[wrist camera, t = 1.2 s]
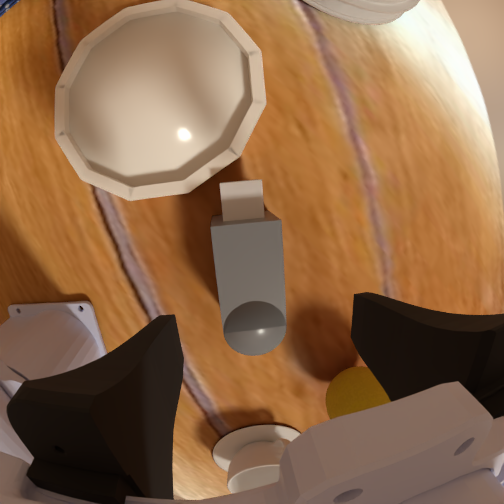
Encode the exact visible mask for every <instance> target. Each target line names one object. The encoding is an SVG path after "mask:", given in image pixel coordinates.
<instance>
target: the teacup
mask: <svg viewBox="0 0 504 504" xmlns="http://www.w3.org/2000/svg"><path fill="white" fill-rule="evenodd" d="M299 435H301V434H300V433H299V432H298V431H296V430H294V429H292V428H289V427H285V426H280V425H258V426H251V427H247V428H243V429H240V430H237V431H234V432H232V433H230V434H228V435H226V436H225V437H223V438H222V439H221V440H220V441H219V442H218V443H217V444H216V445H215V447H214V449H213V459H214V461H215V463H216V464H217V465H218V466H219V467H220V468H222V469H223V470H225V471H227V472H228V478H227V487H228V489H229V491H230V492H231V493H238V492H242V491H246V490H250V489H254V488H257V487H261V486H264V485H268V484H271V483H275V482H278V480H279V476H280V470H279V461H280V459H281V457H282V455H283V453H284V450H285V448H286V446H287V445H288V444H289V443H290V442H291V441H293V440H294V439H295V438H297V437H298V436H299Z"/></svg>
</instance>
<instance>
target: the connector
mask: <svg viewBox="0 0 504 504" xmlns="http://www.w3.org/2000/svg"><path fill="white" fill-rule="evenodd" d="M220 193H221V203H222V214H223V215H216V216H212V221H211V236H212V245H213V254H214V263H215V271H216V279H217V287H218V295H219V303H220V310H221V318H222V325H223V332H224V337H225V340H226V341H227V343H228V344H229V346H230V347H231V348H232V349H234V350H235V351H237V352H239V353H241V354H244V355H251V356H255V355H262V354H265V353H268V352H270V351H271V350H273V349H274V348H276V347H277V346H278V345H279V344H280V343H281V341H282V340H283V338H284V336H285V333H286V302H285V279H284V259H283V241H282V224H281V219H279V218H278V217H276V216H275V215H274V214H272V213H271V212H270V211H264V202H263V189H262V180H259V179H257V180H244V181H233V182H223V183H220Z"/></svg>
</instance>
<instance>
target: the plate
mask: <svg viewBox="0 0 504 504" xmlns="http://www.w3.org/2000/svg"><path fill="white" fill-rule="evenodd" d="M265 105H266V94H265V84H264V73H263V63H262V54H261V50H260V49H259V48H258V46H257V45H256V44H255V43H254V42H253V40H252V39H251V38H250V37H249V36H248V34H247V33H246V32H245V31H244V30H243V29H242V27H241V26H240V25H239V24H238V23H237V22H236V21H235V20H234V18H233V17H232V16H231V15H230V14H229V13H228V12H225V11H222V10H219V9H216V8H213V7H210V6H206V5H203V4H200V3H196V2H193V1H189V0H161V1H155V2H150V3H145V4H140V5H136V6H131V7H127V8H126V9H125V8H124V9H123V10H121V11H120V12H118V13H117V14H115V15H114V16H113V17H111V18H110V19H108V20H107V21H105V22H104V23H103V24H101V25H100V26H99V27H97V28H96V29H95V30H93V31H92V32H91V33H89V34H88V35H87V36H86V37H84V38H83V39H82V40H81V41H80V43H79V44H78V46H77V48H76V49H75V51H74V53H73V55H72V56H71V58H70V60H69V62H68V64H67V65H66V67H65V69H64V71H63V73H62V75H61V77H60V79H59V81H58V83H57V85H56V87H55V139H56V140H57V142H58V144H59V145H60V147H61V149H62V150H63V152H64V154H65V155H66V157H67V158H68V160H69V162H70V163H71V165H72V166H73V168H74V169H75V171H76V173H77V174H78V176H79V177H80V179H82V180H83V181H85V182H87V183H90V184H92V185H94V186H96V187H99V188H101V189H103V190H106V191H108V192H110V193H112V194H115V195H117V196H119V197H122V198H124V199H126V200H128V201H133V200H140V199H147V198H154V197H161V196H169V195H177V194H185V193H189V192H191V191H193V190H194V189H195V188H197V187H198V186H199V185H201V184H202V183H204V182H205V181H206V180H208V179H209V178H211V177H212V176H213V175H215V174H216V173H218V172H219V171H220V170H222V169H223V168H225V167H226V166H228V165H229V164H231V163H232V162H233V161H235V160H236V159H238V158H239V157H240V155H241V153H242V151H243V149H244V147H245V145H246V143H247V141H248V139H249V137H250V135H251V133H252V131H253V129H254V127H255V125H256V123H257V121H258V119H259V117H260V115H261V113H262V111H263V109H264V107H265Z"/></svg>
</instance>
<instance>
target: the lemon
mask: <svg viewBox="0 0 504 504" xmlns="http://www.w3.org/2000/svg"><path fill="white" fill-rule="evenodd" d="M389 402H391V401H390V399H389V397H388V395H387V394H386V392H385V390H384V389H383V387H382V386H381V385H380V383H379V382H378V380H377V379H376V378H375V376H374V375H373V373H372V372H371V371H370V369H369V368H367V367H363V366H360V367H351V368H348V369H346V370H343V371H342V372H340V373H339V374H338V375H337V376H336V377H334V379H333V380H332V381H331V383H330V385H329V387H328V389H327V393H326V407H327V412H328V415H329V417H330V419H333V418H335V417H339V416H343V415H347V414H351V413H355V412H359V411H362V410H366V409H370V408H373V407H376V406H380V405H383V404H386V403H389Z"/></svg>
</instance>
